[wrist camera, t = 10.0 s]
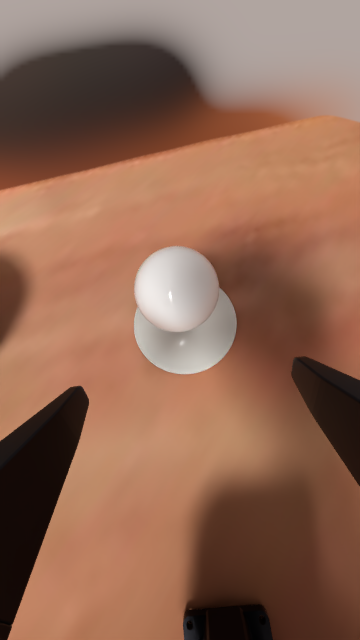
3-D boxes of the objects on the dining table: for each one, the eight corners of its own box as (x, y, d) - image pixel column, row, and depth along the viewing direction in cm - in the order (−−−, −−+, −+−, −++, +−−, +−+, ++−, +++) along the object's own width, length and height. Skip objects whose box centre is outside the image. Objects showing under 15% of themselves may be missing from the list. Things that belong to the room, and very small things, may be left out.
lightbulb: (206, 293, 22) (215, 217, 12) (215, 344, 20) (235, 308, 10) (155, 300, 23) (120, 232, 12) (158, 351, 21) (120, 323, 10)
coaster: (246, 366, 20) (247, 366, 19) (138, 380, 20) (136, 380, 20) (224, 271, 24) (225, 269, 23) (133, 285, 24) (131, 283, 24)
